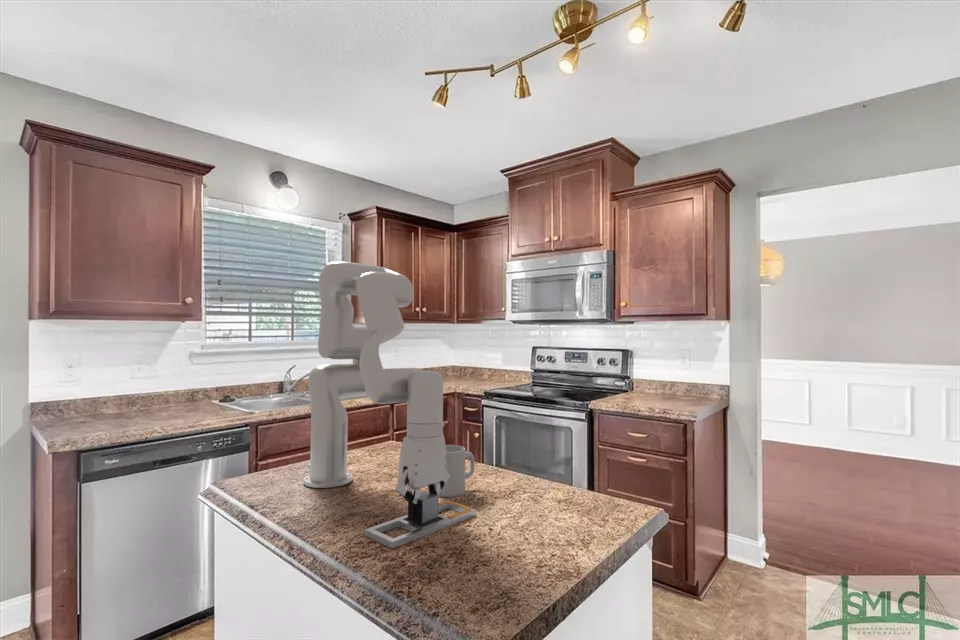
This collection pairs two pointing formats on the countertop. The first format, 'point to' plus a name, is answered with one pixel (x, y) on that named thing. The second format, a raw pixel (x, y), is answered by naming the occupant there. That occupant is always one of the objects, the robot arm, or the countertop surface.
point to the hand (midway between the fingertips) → (423, 516)
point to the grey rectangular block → (427, 509)
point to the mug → (457, 470)
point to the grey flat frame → (416, 530)
